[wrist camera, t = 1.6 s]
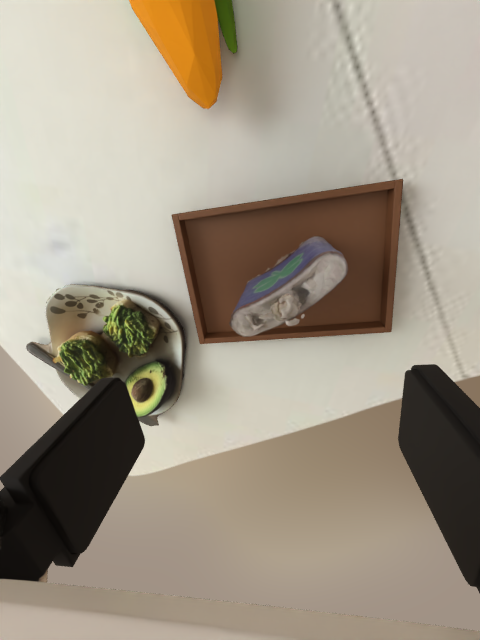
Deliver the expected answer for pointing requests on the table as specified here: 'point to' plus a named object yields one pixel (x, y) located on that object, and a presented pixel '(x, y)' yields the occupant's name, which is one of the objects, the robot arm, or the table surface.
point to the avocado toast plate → (115, 345)
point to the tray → (283, 238)
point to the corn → (190, 40)
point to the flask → (289, 288)
